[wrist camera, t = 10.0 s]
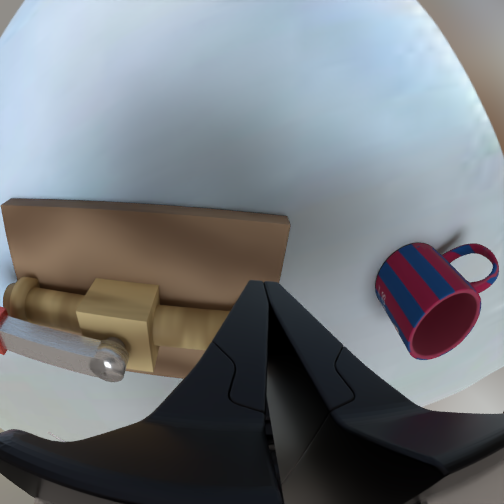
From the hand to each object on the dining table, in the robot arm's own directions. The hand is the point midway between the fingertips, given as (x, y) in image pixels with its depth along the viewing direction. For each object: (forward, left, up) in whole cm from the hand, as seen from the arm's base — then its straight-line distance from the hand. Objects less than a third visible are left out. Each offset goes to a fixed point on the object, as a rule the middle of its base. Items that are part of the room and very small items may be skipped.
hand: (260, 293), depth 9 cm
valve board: (-10, +8, -12) cm, 18 cm away
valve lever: (-10, +14, -6) cm, 18 cm away
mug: (-5, -16, -12) cm, 21 cm away
